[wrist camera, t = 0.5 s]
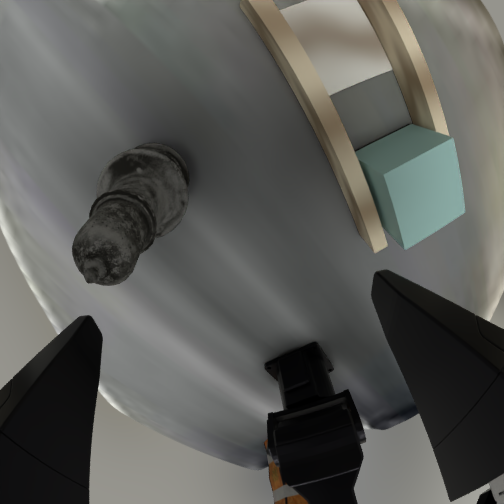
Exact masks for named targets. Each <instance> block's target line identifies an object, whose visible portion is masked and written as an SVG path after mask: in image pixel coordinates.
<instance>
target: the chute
mask: <svg viewBox="0 0 504 504" xmlns="http://www.w3.org/2000/svg"><path fill="white" fill-rule="evenodd" d="M239 7H240V8H241V9H242V11H243V12H244V14H245V15H246V16H247V18H248V19H249V21H250V22H251V24H252V25H253V27H254V28H255V30H256V31H257V33H258V34H259V36H260V37H261V39H262V40H263V42H264V43H265V45H266V47H267V48H268V50H269V51H270V53H271V55H272V56H273V58H274V59H275V61H276V63H277V64H278V66H279V68H280V69H281V71H282V73H283V74H284V76H285V78H286V80H287V81H288V83H289V85H290V87H291V88H292V90H293V92H294V94H295V96H296V97H297V99H298V101H299V103H300V105H301V107H302V108H303V110H304V112H305V114H306V116H307V118H308V120H309V122H310V124H311V126H312V128H313V130H314V132H315V134H316V136H317V138H318V140H319V142H320V144H321V146H322V148H323V150H324V152H325V154H326V156H327V158H328V161H329V163H330V165H331V167H332V169H333V171H334V174H335V176H336V178H337V180H338V183H339V185H340V187H341V190H342V192H343V194H344V197H345V199H346V201H347V204H348V206H349V209H350V211H351V214H352V216H353V219H354V221H355V224H356V226H357V229H358V232H359V234H360V236H361V237H362V238H363V239H364V241H365V242H366V243H367V244H368V245H369V247H370V248H371V249H372V250H373V252H374V253H377V252H379V251H380V250H382V249H384V248H386V247H387V246H388V245H387V241H386V238H385V235H384V232H383V228H382V225H381V222H380V219H379V216H378V213H377V210H376V207H375V204H374V201H373V198H372V195H371V193H370V190H369V187H368V184H367V182H366V179H365V176H364V174H363V171H362V169H361V166H360V164H359V161H358V159H357V156H356V154H355V151H354V149H353V146H352V144H351V142H350V139H349V137H348V135H347V133H346V130H345V128H344V126H343V124H342V122H341V119H340V117H339V115H338V113H337V111H336V109H335V107H334V105H333V103H332V101H331V99H330V97H329V96H330V95H332V94H334V93H336V92H339V91H341V90H343V89H345V88H348V87H350V86H352V85H355V84H357V83H360V82H362V81H364V80H367V79H369V78H372V77H374V76H377V75H379V74H382V73H385V72H387V71H390V70H392V69H393V72H394V74H395V77H396V79H397V81H398V84H399V86H400V89H401V91H402V94H403V97H404V99H405V102H406V105H407V107H408V110H409V113H410V116H411V119H412V122H413V125H417V126H420V127H423V128H426V129H429V130H433V131H436V132H439V133H441V134H444V135H447V136H449V133H448V129H447V125H446V121H445V118H444V114H443V111H442V107H441V104H440V101H439V98H438V94H437V91H436V88H435V85H434V83H433V80H432V77H431V74H430V72H429V69H428V66H427V64H426V61H425V59H424V56H423V54H422V51H421V49H420V47H419V45H418V42H417V40H416V38H415V36H414V34H413V31H412V29H411V27H410V25H409V23H408V21H407V19H406V17H405V15H404V13H403V11H402V10H401V8H400V6H399V4H398V2H397V0H307V1H304V2H301V3H298V4H296V5H293V6H290V7H287V8H285V9H282V10H279V9H278V8H277V6H276V5H275V3H274V2H273V1H272V0H241V2H240V6H239Z"/></svg>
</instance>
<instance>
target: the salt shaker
mask: <svg viewBox="0 0 504 504" xmlns="http://www.w3.org/2000/svg"><path fill="white" fill-rule="evenodd" d="M188 185H189V172H188V169H187V166H186V163H185V162H184V160H183V159H182V157H181V156H180V155H179V154H178V153H177V152H176V151H175V150H174V149H172V148H170V147H168V146H166V145H163V144H158V143H149V144H143V145H141V146H138V147H136V148H135V149H132V150H128V151H125V152H123V153H121V154H118V155H117V156H116V157H114V158H113V159H112V160H111V161H109V162H108V164H107V165H106V166H105V168H104V169H103V171H102V172H101V175H100V178H99V180H98V185H97V199H96V200H95V202H94V203H93V205H92V207H91V210H90V213H89V220H88V221H87V222H86V223H85V224H84V225H83V227H82V228H81V229H80V230H79V232H78V233H77V235H76V237H75V239H74V242H73V246H72V254H73V258H74V261H75V264H76V266H77V268H78V269H79V271H80V272H81V273H82V274H83V275H84V278H85V280H86V282H87V283H96V284H99V285H106V286H110V285H116V284H120V283H122V282H123V281H125V280H126V279H127V278H128V277H129V276H130V274H131V273H132V272H133V270H134V267H135V265H136V262H137V260H138V258H139V255H140V254H141V253H143V252H144V251H146V250H147V249H148V248H149V247H150V246H151V245H152V244H153V242H154V239H155V238H158V237H161V236H164V235H166V234H167V233H169V232H170V231H172V230H173V229H174V228H175V227H176V226H177V225H178V224H179V223H180V222H181V220H182V218H183V216H184V214H185V212H186V208H187V203H188Z"/></svg>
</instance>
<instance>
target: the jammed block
mask: <svg viewBox="0 0 504 504" xmlns="http://www.w3.org/2000/svg"><path fill="white" fill-rule="evenodd" d="M355 154H356V156H357V159H358V161H359V164H360V166H361V169H362V171H363V174H364V176H365V179H366V182H367V184H368V187H369V190H370V193H371V195H372V198H373V201H374V204H375V207H376V210H377V213H378V216H379V219H380V222H381V225H382V227H383V228H384V229H385V230H386V231H387V232H388V233H389V234H390V235H391V236H392V237H393V238H394V239H395V240H396V241H397V242H398V243H399V245H400V246H401V247H402V248H403V249H404V250H406V249H408V248H410V247H411V246H413V245H415V244H416V243H418V242H420V241H421V240H423V239H425V238H426V237H428V236H429V235H431V234H433V233H434V232H436V231H437V230H439V229H441V228H442V227H444V226H445V225H447V224H448V223H450V222H451V221H453V220H454V219H456V218H457V217H459V216H460V215H462V214H463V213H465V205H464V196H463V189H462V182H461V175H460V169H459V164H458V158H457V153H456V149H455V144H454V139H453V137H450V136H447V135H444V134H441V133H439V132H436V131H433V130H429V129H426V128H423V127H420V126H417V125H413V124H410V125H408V126H406V127H404V128H402V129H400V130H398V131H396V132H394V133H392V134H390V135H388V136H386V137H384V138H381V139H379V140H377V141H375V142H373V143H371V144H369V145H367V146H365V147H363V148H362V149H360V150H358V151H356V152H355Z"/></svg>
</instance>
